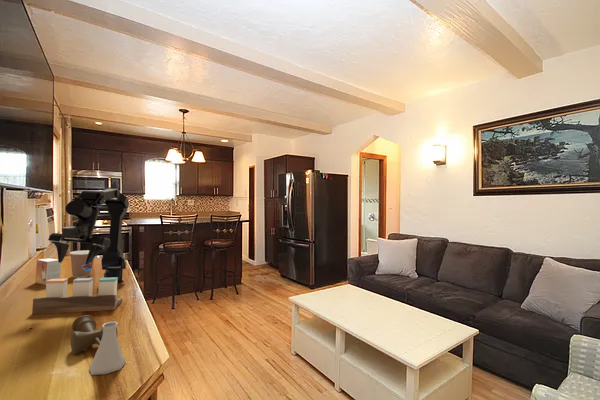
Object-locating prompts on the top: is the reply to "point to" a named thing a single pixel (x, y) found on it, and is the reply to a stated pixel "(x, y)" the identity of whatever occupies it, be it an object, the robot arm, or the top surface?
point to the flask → (108, 352)
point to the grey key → (83, 286)
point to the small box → (47, 270)
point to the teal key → (108, 286)
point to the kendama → (85, 334)
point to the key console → (75, 304)
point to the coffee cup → (80, 264)
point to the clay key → (56, 288)
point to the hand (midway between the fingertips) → (73, 263)
